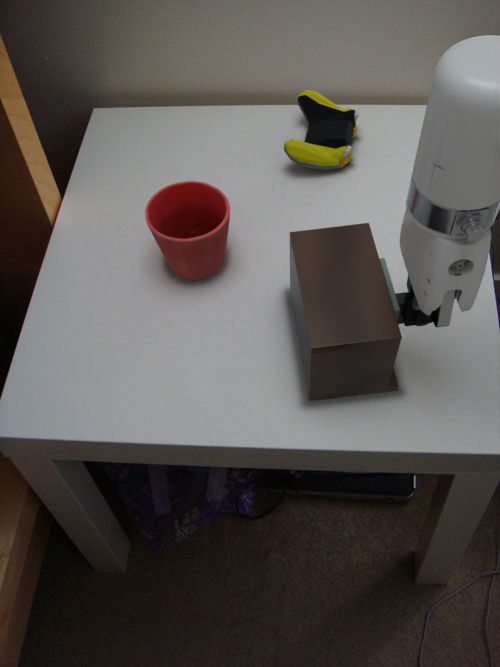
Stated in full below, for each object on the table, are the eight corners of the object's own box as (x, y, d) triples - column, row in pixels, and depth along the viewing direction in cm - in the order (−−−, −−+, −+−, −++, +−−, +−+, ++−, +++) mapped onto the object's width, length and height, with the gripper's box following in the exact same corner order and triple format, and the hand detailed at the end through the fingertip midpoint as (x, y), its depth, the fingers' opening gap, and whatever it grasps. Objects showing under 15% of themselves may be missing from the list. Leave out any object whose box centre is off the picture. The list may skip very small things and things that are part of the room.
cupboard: (369, 284, 79) (380, 221, 69) (397, 390, 71) (415, 335, 61) (290, 293, 79) (289, 231, 69) (308, 401, 71) (311, 348, 61)
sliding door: (406, 302, 76) (419, 253, 68) (421, 351, 72) (437, 305, 64) (370, 306, 76) (379, 258, 68) (383, 355, 72) (394, 310, 64)
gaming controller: (281, 176, 92) (346, 183, 90) (281, 147, 87) (349, 154, 85) (299, 114, 100) (359, 119, 98) (299, 84, 95) (363, 90, 93)
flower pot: (201, 218, 88) (191, 167, 80) (251, 259, 83) (246, 209, 75) (143, 258, 84) (127, 208, 76) (192, 302, 80) (181, 255, 72)
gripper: (531, 256, 46) (472, 373, 61) (471, 131, 54) (431, 262, 69) (435, 269, 46) (399, 383, 61) (388, 141, 54) (367, 270, 69)
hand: (416, 318), depth 65 cm, fingers closed
